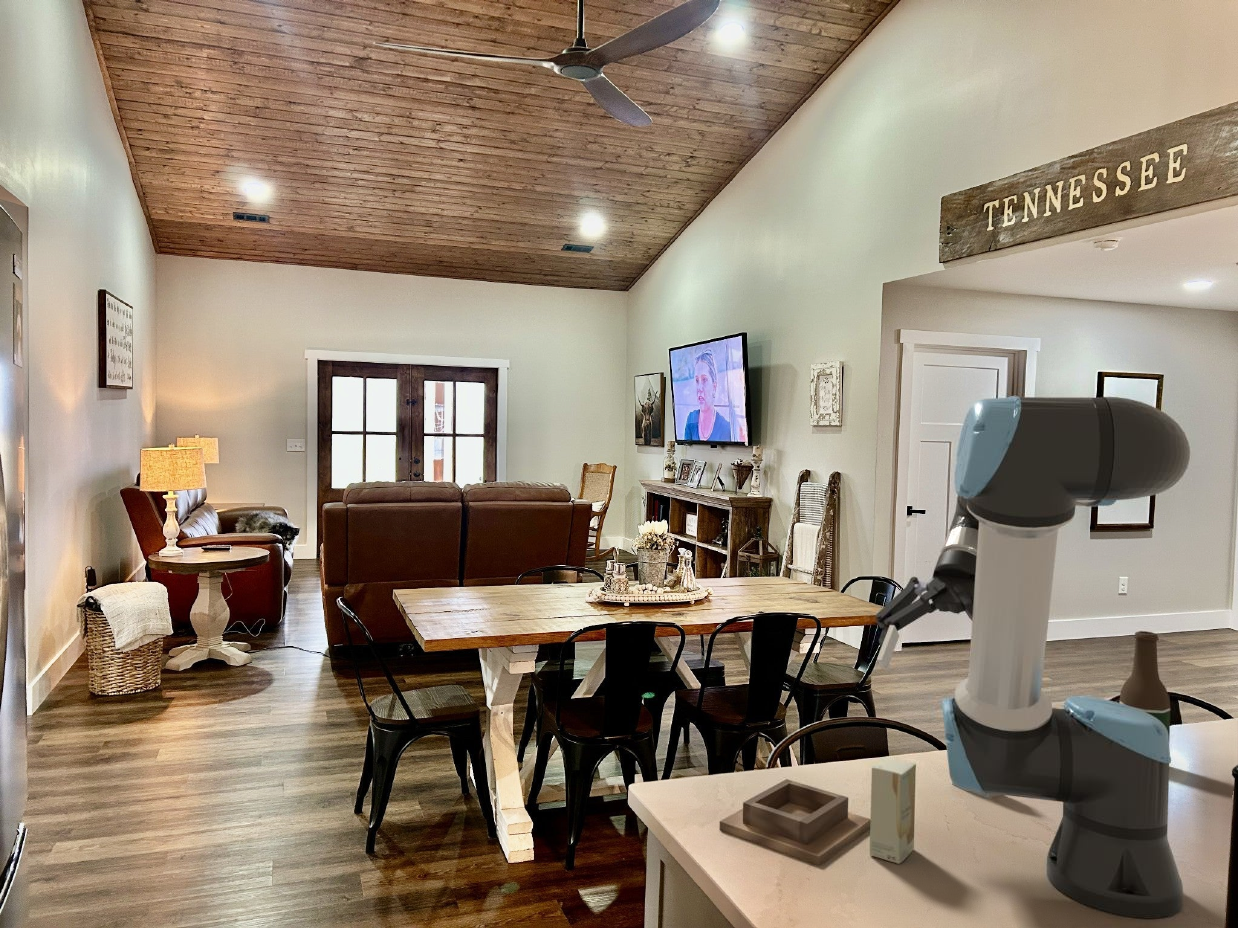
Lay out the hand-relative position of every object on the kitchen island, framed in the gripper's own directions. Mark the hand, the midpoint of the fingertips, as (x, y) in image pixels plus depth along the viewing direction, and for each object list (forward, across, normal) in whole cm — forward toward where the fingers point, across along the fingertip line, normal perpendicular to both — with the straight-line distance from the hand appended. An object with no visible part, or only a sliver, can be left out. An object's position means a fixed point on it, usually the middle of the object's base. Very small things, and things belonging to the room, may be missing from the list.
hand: (925, 673), depth 127 cm
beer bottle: (-21, -20, -54) cm, 61 cm away
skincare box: (+24, 0, -8) cm, 26 cm away
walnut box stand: (+26, +13, -6) cm, 30 cm away
